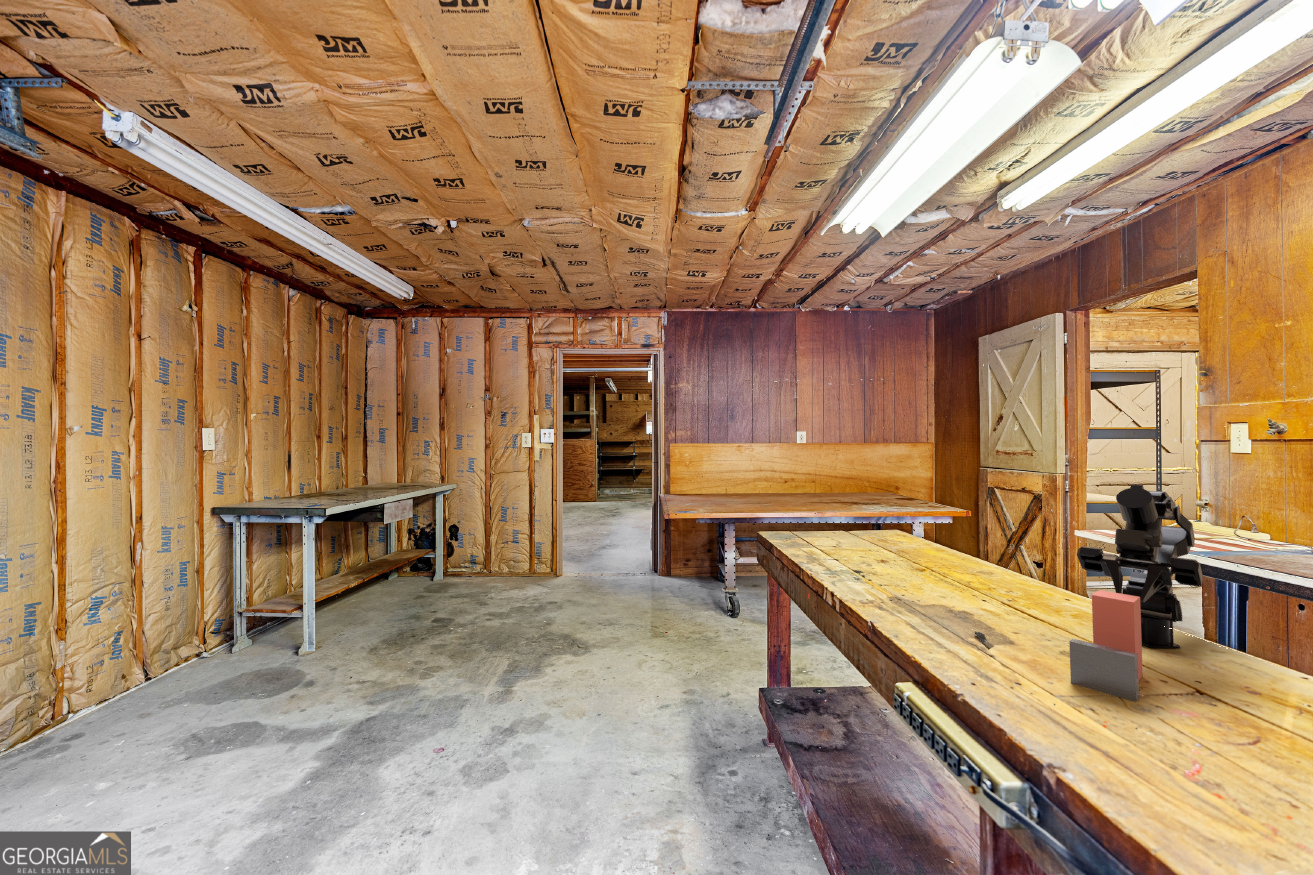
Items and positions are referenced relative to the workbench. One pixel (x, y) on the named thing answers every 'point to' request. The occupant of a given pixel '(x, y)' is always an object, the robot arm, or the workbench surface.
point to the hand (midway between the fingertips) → (1130, 599)
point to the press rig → (1104, 669)
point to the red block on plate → (1118, 623)
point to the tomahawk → (983, 640)
